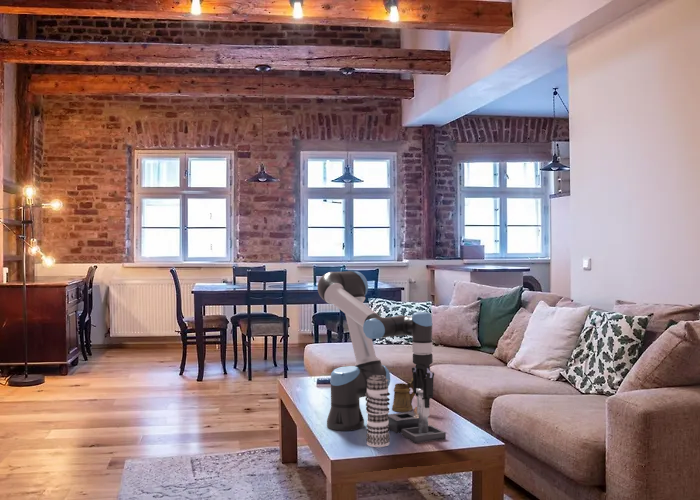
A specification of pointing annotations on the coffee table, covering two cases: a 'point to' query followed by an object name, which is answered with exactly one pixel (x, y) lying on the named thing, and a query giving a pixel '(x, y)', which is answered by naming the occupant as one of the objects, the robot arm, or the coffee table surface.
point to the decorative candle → (377, 411)
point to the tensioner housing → (403, 421)
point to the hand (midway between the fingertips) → (423, 414)
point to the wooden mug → (403, 397)
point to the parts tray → (423, 434)
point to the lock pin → (422, 420)
